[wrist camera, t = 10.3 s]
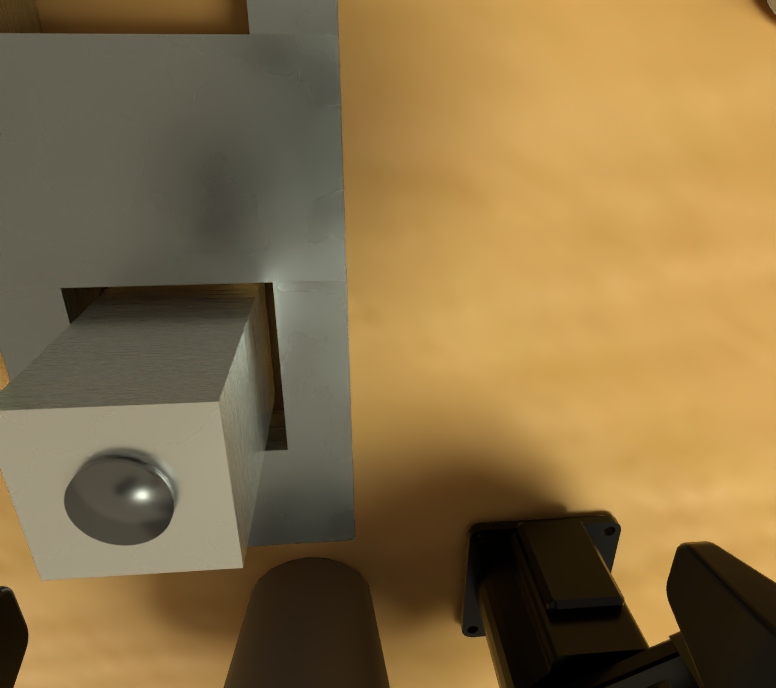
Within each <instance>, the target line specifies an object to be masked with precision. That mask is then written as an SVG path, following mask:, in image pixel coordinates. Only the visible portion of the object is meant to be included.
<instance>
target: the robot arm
mask: <svg viewBox="0 0 776 688" xmlns="http://www.w3.org/2000/svg"><path fill="white" fill-rule="evenodd" d="M607 527H609V528H607ZM606 528H607V529H606ZM620 532H621V527H620V525H619V523H618V522H617V520H616V519H615V517H613V516H608V515H607V516H590V517H573V518H557V519H540V520H523V521H507V522H490V523H478V524H475V525H473V526H471V527H470V528H469V530H468V534H467V546H466V559H465V571H464V584H463V596H462V609H461V621H460V624H461V628H462V633H463V634H464V635H465V636H467V637H480V636H486V638H487V642H488V646H489V650H490V654H491V657H492V661H493V665H494V669H495V672H496V676H497V680H498V684H499V687H500V688H776V583H775V582H774V581H772V580H771V579H769V578H768V577H766V576H764V575H763V574H761V573H760V572H758V571H757V570H755V569H753V568H752V567H750V566H749V565H747V564H746V563H744V562H742V561H741V560H739V559H738V558H736V557H735V556H733V555H731V554H730V553H728V552H727V551H725V550H724V549H722V548H720V547H719V546H717V545H715V544H714V543H711V542H706V541H703V542H687V543H682V544H681V545H680V546H679V547H678V548H677V550H676V553H675V557H674V560H673V563H672V567H671V570H670V574H669V577H668V580H667V587H666V591H667V597H668V601H669V604H670V606H671V609H672V611H673V614H674V616H675V618H676V621H677V623H678V626H679V628H680V632H677V633H675V634H673V635H670V636H669V638H670V639H669V640H666V641H664V642H662V643H659V644H657V645H655V646H652V647H649V645H648V643H647V642H646V640H645V638H644V636H643V634H642V632H641V631H640V629H639V627H638V625H637V623H636V621H635V620H634V618H633V616H632V614H631V612H630V610H629V608H628V607H627V605H626V603H625V600H624V597H623V595H622V593H621V591H620V589H619V588H618V586H617V584H616V582H615V580H614V578H613V577H612V575H611V571H612V566H613V562H614V558H615V553H616V549H617V545H618V541H619V536H620ZM478 535H483V536H480V537H477V536H478ZM27 644H28V628H27V625H26V622H25V620H24V617H23V615H22V612H21V610H20V607H19V605H18V602H17V600H16V597H15V595H14V593H13V591H12V590H11V589H10V588H8V587H5V586H0V688H13V687H14V684H15V681H16V678H17V675H18V672H19V669H20V666H21V663H22V660H23V657H24V655H25V652H26V648H27Z"/></svg>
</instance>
